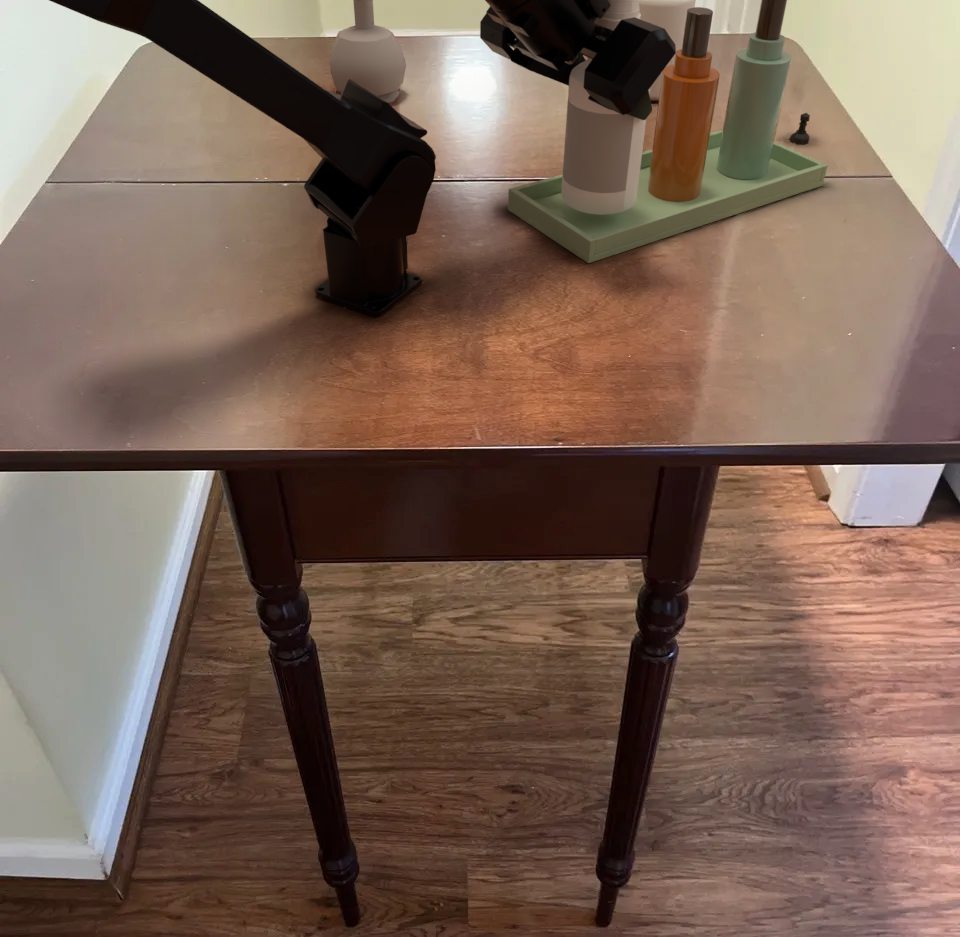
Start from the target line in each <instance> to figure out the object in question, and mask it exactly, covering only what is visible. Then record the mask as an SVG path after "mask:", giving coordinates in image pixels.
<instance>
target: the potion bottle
mask: <svg viewBox="0 0 960 937" xmlns="http://www.w3.org/2000/svg"><path fill="white" fill-rule="evenodd" d="M353 13H354V25H352V26H349V27H346V28H344V29H342V30H339V31H338V32H337V34H336V37H335V38H334V41H333V43H332V45H331V51H330V58H329V71H330V75H331V78H332V81H333V85H334V87H335V90H336V91H338V92H340V95H342V94H343V92H344V89H345V87H346V84H347V82H348V80H349V79H351V80H353V81H354V82H356V83H357V84H359V85H361V86H362V87H364V88H365V89H367V90H369V91H370V92H372V93H373V94H375V95H376V96H378V97H380V98H381V99H383V100H384V101H386V102H388V103H389V104H390V103H393V102H395V100H396V99H397V98H398V96H399V95H400V92H399V91H398V90H399V89H400V88H401V86H402V85H403V83H404V80H405V74H406V69H407V62H406V58H405V54H404V51H403V47H402V45H401V43H400V42H399V40H398V39H397V37H396V36H395V34H394V32H393V31H391V30H390V29H389V28H387V27H385V26H380V25H376V24H375V13H374V0H353Z"/></svg>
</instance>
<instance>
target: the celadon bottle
mask: <svg viewBox="0 0 960 937" xmlns="http://www.w3.org/2000/svg"><path fill="white" fill-rule="evenodd" d="M760 1H761V2H760V6H759V12H758V17H757V22H756V27H755V32H751V33H749V35H748V41H747V46H746V47H743V48H740V49H737V51H736V52H735V57H734V63H733V68H732V75H731V81H730V86H729V92H728V98H727V103H726V110H725V115H724V121H723V126H722V129H723V132H722V138H721V144H720V149H719V155H718V161H717V170H718V171H719V172H720V173H721V174H723V175H725V176H728V177H731V178H735V179H742V180H753V179H759V178H762V177H764V176H765V175H766V174H767V172H768V168H769V163H770V158H771V154H772V149H773V144H774V141H775V138H776V134H777V129H778V124H779V120H780V115H781V110H782V105H783V100H784V96H785V91H786V86H787V82H788V77H789V72H790V67H791V63H792V55H791V54H790V53H789V52H788V51H785V50H784V46H785V42H786V37H785V35H783V34H782V29H783V28H782V27H783V23H784V19H785V12H786V9H787V4H788V0H760Z"/></svg>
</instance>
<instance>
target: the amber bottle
mask: <svg viewBox="0 0 960 937" xmlns="http://www.w3.org/2000/svg"><path fill="white" fill-rule="evenodd" d="M713 15H714V10H713V9H710V8H707V7H702V6H701V7H700V6H695V7H694V8H689V9H688V10H687V14H686V21H685V28H684V35H683V43H682V49H679V50H677V51H676V54H675V59H674V64H673V65H670V66H667V67H665V68H664V70H663V71H662V79H661V87H660V95H659V100H658V103H657V104H658V105H657V112H656V119H655V120H656V121H655V129H654V135H653V136H654V137H653V144H652V149H653V151H652V158H651V166H650V174H649V182H648V191H649V193H650V194H651V195H653V196H655V197H657V198H659V199H662V200H666V201H673V202H684V201H690V200H693V199H695V198H697V197H698V196H699V195H700V192H701V186H702V180H703V174H704V168H705V162H706V156H707V150H708V144H709V138H710V133H711V132H712V131H711V130H712V124H713V120H714V113H715V107H716V102H717V101H716V100H717V94H718V89H719V84H720V75H721V73H720V72H719V71H718V70H717V69H716V68H714V67H712V62H713V60H712V59H713V53H712V52H711V51H709V50H708V49H709V41H710V37H711V36H710V35H711V29H712V22H713Z"/></svg>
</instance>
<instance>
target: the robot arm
mask: <svg viewBox="0 0 960 937" xmlns="http://www.w3.org/2000/svg"><path fill="white" fill-rule="evenodd" d="M48 1H50V2H52V3H54V4H57V5H59V6H61V7H64V8H66V9H68V10H70V11H73V12H75V13H78V14H80V15H83V16H85V17H88V18H90V19H92V20H95V21H97V22H100V23H103V24H106V25H110V26H112V27H115V28H117V29H121V30H125V31H128V32H130V33H133V34H135V35H139V36H141V37H144V38H145V39H147V40H148V41H150V42H151V43H152V44H153V43H154V44H155V45H157V46H158V47H160V48H161V49H162V50H164V51H166V52H168V53H169V54H171V55H172V56H173V57H175V58H177V59H178V60H180V61H181V62H183V63H184V64H185V65H188V66H189V67H191V68H193V69H194V70H196V71H197V72H198V73H200V74H202V76H205V77H207V79H210V80H211V81H213V82H214V83H216V84H217V85H219V86H220V87H222V88H224V89H225V90H227V91H228V92H230V93H231V94H233V95H235V96H236V97H237V98H239V99H240V100H242V101H244V102H245V103H247V104H249V105H250V106H251V107H253V108H255V109H256V110H258V111H259V112H261V113H263V114H264V115H266V116H267V117H268V118H270V119H272V120H273V121H275V122H276V123H278V124H280V125H282V126H283V127H284V128H286V129H287V130H289V131H291V132H292V133H294V134H295V135H297V136H299V137H300V138H301V139H303V140H304V141H305V142H306V143H307V144H308V146H309V147H311V149H312V150H313V151H314V152H315V153H316V154H317V155H318V156H319V157H320V158H321V159H320V161H319V163H318V164H317V165H316V167H314V170H313V171H312V173H311V174H310V175H309V177H308V178H307V180H306V181H305V183H304V185H303V187H304V188H303V189H304V190H305V192H306V194H307V196H308V198H309V200H310V202H311V204H312V206H313V207H314V208H315V209H316V210H319V211H321V213H323V214H324V215H325V216H326V217H327V219H326V227H324V228H323V229H322V235H323V242H324V244H323V245H324V253H325V262H326V271H327V280H326V281H324V282H322V283H321V284H320V285H318V286H316V287H315V288H314V294H315V296H316V297H318V298H320V299H324V300H326V301H329V302H332V303H334V304H337V305H341V306H343V307H346V308H349V309H352V310H355V311H358V312H361V313H363V314H366V315H369V316H372V317H380V316H382V315H383V314H385V313H386V312H388V311H389V310H390V309H391V308H393V307H394V306H395V305H397V304H398V303H399V302H401V301H402V300H404V298H406V297H407V296H408V295H410V294H411V293H413V292H414V291H415V290H417V289H418V288H419V287H421V286H422V285H423V277H422V276H420V275H417V274H414V273H410V272H407V270H408V269H409V263H408V261H409V260H408V243H407V241H408V240H407V237H409V236H412V235H415V234H417V232H418V228H419V225H420V222H421V217H422V214H423V210H424V208H425V207H424V206H425V203H426V200H427V197H428V193H429V191H430V189H431V187H432V185H433V183H434V180H435V175H436V170H437V169H436V158H437V155H436V153H435V151H434V149H433V147H431V145H429V143H428V142H427V141H425V140H424V139H423V137H425V136H426V135H427V134H428V130H427V129H425V128H424V127H422V126H421V125H419V124H417V123H416V122H415V121H413V120H411V119H410V118H408V117H406V116H405V115H403V114H402V113H400V112H398V111H397V110H396V109H395V108H394V107H393V106H392V105H391V104H390V103H388V102H386V101H384V100H383V99H381V98H380V97H378V96H376V95H375V94H373V93H372V92H370V91H369V90H367V89H365V88H364V87H362V86H361V85H359V84H357V83H356V82H354V81H353V80H351V79H349V80H348V82H347V84H346V87H345V89H344V92H343V94H342V95H341V94H339V93H336V92H333V91H330V90H327V89H324V88H323V87H322V86H320V85H319V84H317V83H316V82H314V81H313V80H312V79H310V78H309V77H307V76H306V75H305V74H303V73H302V72H301V71H299V70H297V69H296V68H294V67H293V65H290V64H289V63H288V62H287V61H285V60H283V59H282V58H280V57H279V56H278V55H276V54H275V53H273V51H270V50H269V49H268V48H266V47H265V46H264V45H262V44H261V43H260V42H258V41H257V40H255V39H254V38H252V37H251V36H250V35H248V34H247V33H245V32H244V31H242V30H241V29H240V28H238V27H237V26H235V25H234V24H233V23H231V22H229V21H228V20H227V19H225V18H224V17H223V16H221V15H220V14H218V13H217V12H215V11H214V10H212V9H211V8H210V7H208V6H207V5H205V4H204V3H202V2H201V1H200V0H48ZM484 1H485V2H486V3H487V4H488V6H489V7H488V8H487V10H486V11H485V14H484V16H483V17H482V19H481V20H480V21H479V27H480V28H479V38H480V39H481V41H483V43H484V44H485V45H486V46H487V47H488V48H489V49H490V50H491V51H492V52H493V53H495V54H497V55H500V56H502V57H503V58H506V59H507V60H510V61H511V63H514V64H515V65H517V66H520V67H522V68H524V69H526V70H528V71H530V72H533V73H534V74H538V75H540V76H543V77H545V78H547V79H550V80H553V81H555V82H558V83H560V84H562V85H565V86H568V87H569V77H570V74H571V71H572V69H573V68H574V67H576V66H577V65H579V64H580V63H582V62H584V61H586V60H587V59H588V58H591V59H592V61H591V62H590V64H589V65H588V66H587V68H586V69H585V74H584V86H583V88H584V89H585V90H586V91H587V92H588V94H589V95H590V96H589V97H588V99H589V100H591V101H593V102H595V103H597V104H599V105H601V106H603V107H605V108H607V109H609V110H613V111H615V112H617V113H619V114H622V115H625V114H627V115H630V116H633V117H635V118H638V119H641V120H646V121H647V119H648V117H649V116H650V114H651V113H652V111H653V105H652V102H651V101H650V96H649V91H648V90H649V89H650V87H651V86H652V85H653V83H654V82H655V81H656V79H657V78H658V76H659V75H660V74H661V72H662V71H663V70H664V68H665V67H666V66H667V64H668V63H669V62H670V60H671V59H672V58H673V56H674V55H675V54H676V45H675V43H674V42H673V40H672V39H671V37H670V36H669V34H668V33H667V32H666V30H665V29H664V28H661V27H659V26H656V25H654V24H651V23H648V22H646V21H643V20H641V19H638V18H635V17H633V18H628V19H623V20H621V21H620V22H619V24H618V25H617V26H616V28H615V29H614V31H613V30H610V29H608V28H606V27H603V26H601V25H598V24H596V23H595V22H594V21H595V20H596V19H597V18H600V19H601V18H602V17H603V16H604V14H605V13H606V12H607V10H608V9H609V7H610V6H611V4H610V3H609V1H608V0H484ZM585 57H586V58H587V59H586V58H585Z"/></svg>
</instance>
